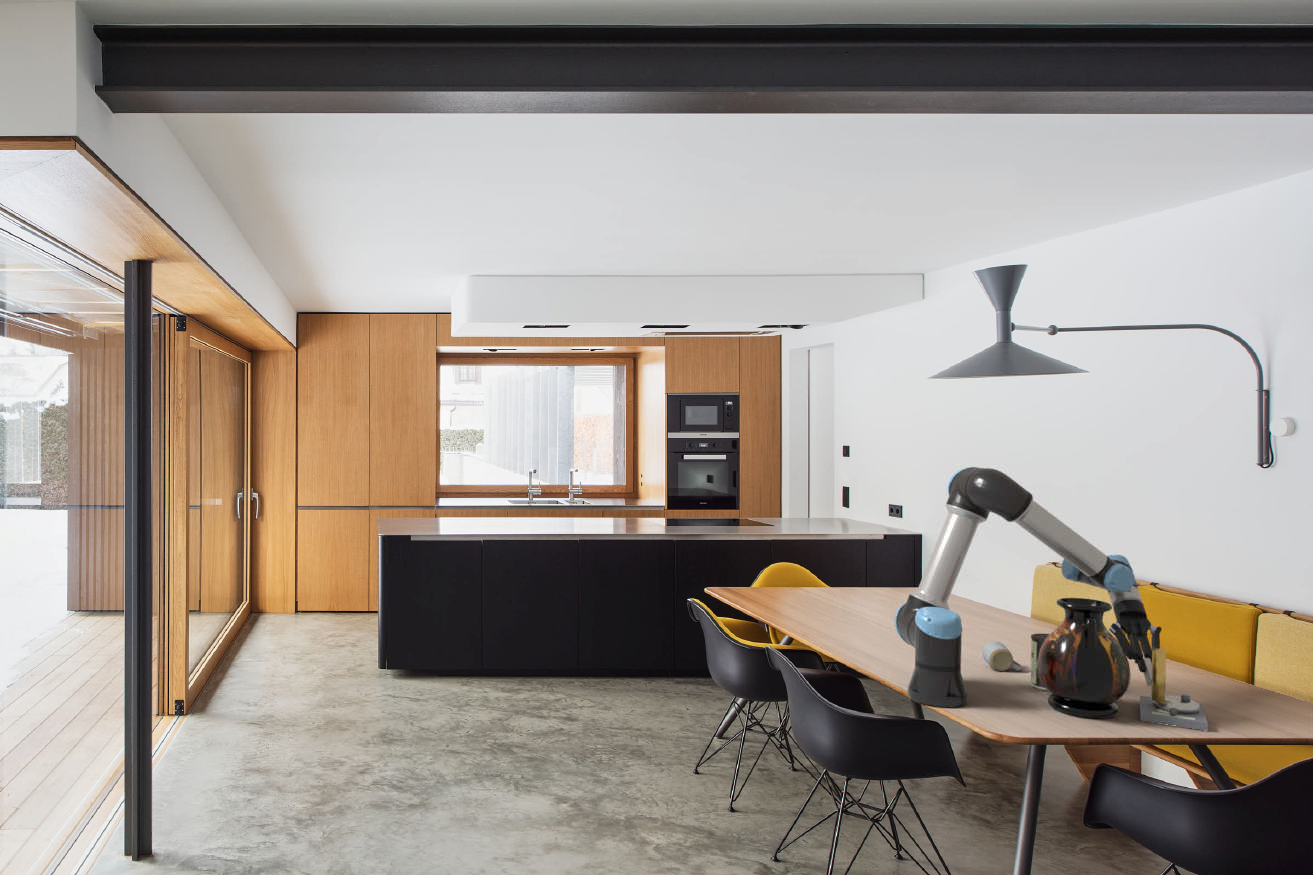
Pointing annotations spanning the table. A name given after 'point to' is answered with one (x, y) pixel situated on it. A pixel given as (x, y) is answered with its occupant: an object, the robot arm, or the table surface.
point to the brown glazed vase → (1083, 662)
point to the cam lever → (1158, 687)
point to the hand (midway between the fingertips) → (1152, 683)
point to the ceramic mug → (999, 657)
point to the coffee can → (1036, 659)
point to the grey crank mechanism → (1171, 715)
